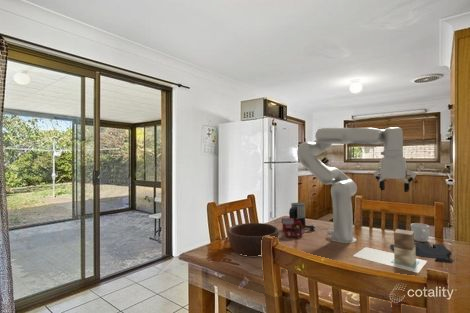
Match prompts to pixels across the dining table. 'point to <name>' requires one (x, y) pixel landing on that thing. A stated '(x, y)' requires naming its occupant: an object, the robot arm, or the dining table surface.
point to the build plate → (388, 259)
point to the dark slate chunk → (432, 252)
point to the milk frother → (299, 213)
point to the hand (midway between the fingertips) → (394, 190)
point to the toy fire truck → (292, 227)
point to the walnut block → (404, 239)
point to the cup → (420, 232)
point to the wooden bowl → (249, 237)
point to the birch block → (405, 256)
